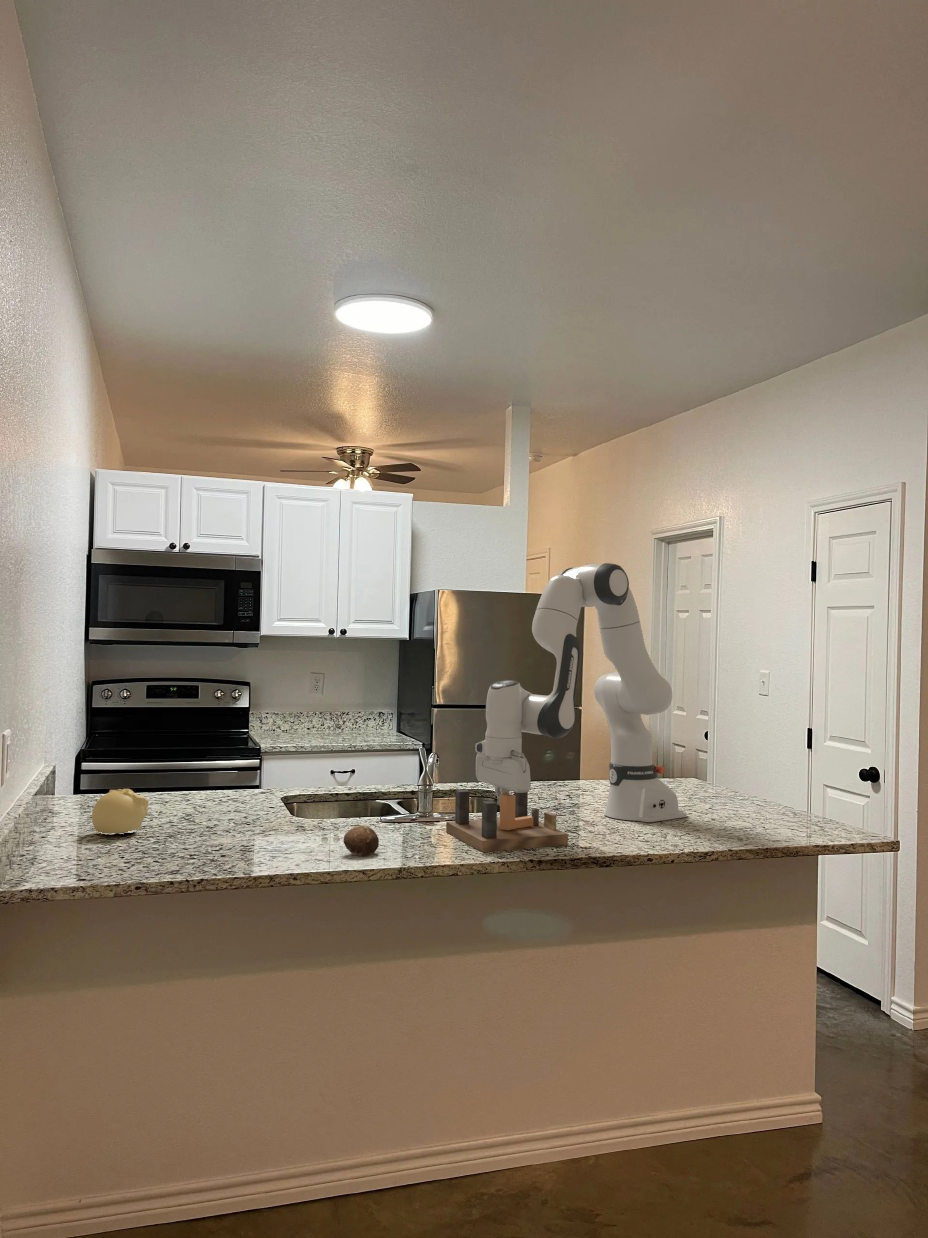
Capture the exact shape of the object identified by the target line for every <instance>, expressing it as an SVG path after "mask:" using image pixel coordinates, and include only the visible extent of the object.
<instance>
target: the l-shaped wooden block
mask: <svg viewBox="0 0 928 1238" xmlns="http://www.w3.org/2000/svg"><path fill="white" fill-rule="evenodd" d="M515 798H516V795H514V794H511V793H509V794H503V795H500V806H499V818H500V829H504V830H512V829H516V828H522V827H528V826H533V817H532V816H529V815H528V816H525V817H518V818H515Z"/></svg>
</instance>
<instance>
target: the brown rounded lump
mask: <svg viewBox="0 0 928 1238" xmlns="http://www.w3.org/2000/svg"><path fill="white" fill-rule="evenodd" d="M342 842H343V844H344V846H345V848H346V849H347V850H348V851H349V852H350V853H352V854H353V855H355V856H360V857H365V856H369V855H372V854H374V853H375V852H376V851H377V850H378V848H379V846H380V845H379V844H380V843H379V842H380V839H379V836H378V834H377V833H376V832H375V830H374V829H372V828H371V827H370V826H366V825H359V826H355V827H352V828H351V829H349V830H348V831H346V833H345V834H344V835H343V841H342Z"/></svg>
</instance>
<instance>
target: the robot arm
mask: <svg viewBox="0 0 928 1238" xmlns="http://www.w3.org/2000/svg"><path fill="white" fill-rule="evenodd" d="M629 581H630V580H629V576H628V574H627V573H626V571H625V570H624V568H623V567H622V566H621V565H619V564H616V563H610V562H606V563H590V564H589V563H588V564H585V565H580V566H577V567H568V568H566V569H563V570H562V571H560V572H559V573H558V574H557V575H555V576H553V577H551V578H550V579H549V580H548V581H547V583H546V585H545V586H544V589H543V591H542V593H541V595H540V598H539V600H538V603H537V606H536V609H535V613H534V616H533V619H532V624H531V632H532V635H533V638H534V640H535V641H536V643H537V644H538V645H539V646H541V648H543V649H544V650H546V651H547V652H549V653H551V654H553V655H554V657H555V659H556V668H555V674H554V681H553V688H552V691H551V693H550V694H548V695H546V694H545V695H543V694H542V695H541V694H536V693H532V692H530V691H528V690H526V689H524V687H522V686H521V684H520V682H519V681H516V680H500V681H496V682H494V683H492V684H491V685H490V686H489V688H488V691H487V696H486V700H485V701H486V702H485V720H486V731H485V734H484V735H485V737H484V740H482V741H479V742H477V743H475V744H474V745H475V747H474V748H475V749H474V751H475V752H476V755H475V756H476V757H475V777H476V778H477V781H478V782H481V783H484V784H488V785H491V786H493V787H494V792H495V794H496V795H495V796H496V797H497V798H496V799H497V801H496V803H497V806H499V807H500V795H503V794H511V793H510V792H513V793H514V792H516V793H525V792H528V793H529V792H530V790H531V788H532V787H531V786H532V785H531V769H530V768H531V767H530V764H529V762H528V759H527V757H526V756H525V753H524V752H522V747H523V746H522V743H523V742H522V741H523V738H522V737H523V735H522V733H529V734H534V735H543V736H545V737H549V738H553V739H561V738H563V737H565V736H566V735H568V733H569V732H570V731H572V729H573V728H574V725H575V723H576V719H577V718H576V716H577V715H576V713H577V712H576V696H577V689H578V684H579V683H578V682H579V681H578V680H579V675H580V674H579V673H580V666H581V665H580V664H581V655H582V647H581V646H582V645H581V642H580V639H579V638H578V637H577V627H578V622H579V619H580V614H581V609H582V608H590V607H591V608H592V607H594V608H595V609H596V612H597V621H598V628H599V632H600V638H601V643H602V644H601V645H602V650H603V653H604V655H605V657H606V659H607V660H608V661H609V662H611V664H612V665H613V667H615V669H616V671H614V672H609V673H604V674H602V675H601V676H600V677H599V678H597V680H596V682H595V684H594V690H593V692H594V693H593V694H594V697H595V700H596V702H597V703H598V705H600V707H601V708H602V710H603V712H604V715H605V718H606V721H607V723H608V728H609V734H610V735H609V736H610V750H611V751H610V762H609V765H608V777H609V778H608V780H609V781H608V782H609V788H608V789H609V791H608V797H607V803H606V806H605V807H606V808H605V810H604V816H606V817H609V818H612V819H616V820H623V821H636V822H643V823H654V822H660V821H667V820H675V819H681V818H687V817H688V813H687V812H686V811H685V810H683V809H680V808H679V802H678V801H679V800H678V796H677V794H676V792H675V791H674V790H673V789H672V788H670V787H669V786H668V785H666V784H665V782H663V781H662V780H661V779H659V778H658V777H659V776H658V774H661V775H663V774H664V773H665V771H666V768H665V767H664V766H661V765H657V766H656V765H654V764H653V736H652V733H650V731H649V730H648V729H647V728H646V726H645V724H644V722H643V719H642V716H641V715H644V716H645V715H647V716H650V715H656V714H661V713H663V712H665V711H666V710H668V708H669V707H670V706H671V703H672V701H673V689H672V687H671V684H670V683H669V681H668V680H666V679H665V678H664V677H663V675H661V674H660V673H659V671H658V670H657V668H656V667H655V665H654V663H653V661H652V660H651V658H650V655H649V652H648V651H647V647H646V644H645V639H644V635H643V630H642V624H641V619H640V615H639V610H638V607H637V603H636V601H635V598H634V595H633V593H632V590H631V588H630V582H629Z"/></svg>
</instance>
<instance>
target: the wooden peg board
mask: <svg viewBox="0 0 928 1238" xmlns="http://www.w3.org/2000/svg"><path fill="white" fill-rule="evenodd" d="M470 792H471V791H470V790H468V789H457V790H456V789H455V801H454V802H455V813H454V815H455V816H454V820H453V821H452V820H451V821H446V822H445V823H446V824H445V832H446V833H448V834H449V835H451V836H453V837H454V838H456V839H458V840H459V841H462V842H464V843H465V844H467V845H469V846H470V847H473V848H474V849H476V850H478V851H479V852H481V853H487V852H498V851H509V850H510V851H511V850H520V849H521V850H522V849H531V848H543V847H544V848H545V847H554V846H555V847H556V846H566V845H567V846H568V844H569V833H568V832H564V831H562V830H560V829H557V814H554V813H552V812H550V811H544V812H543V822H540V808H531V817H533V826H528V827H522V828H516V829H512V830H504V829H500V817H498V804H497V801H493V800H488V801H485V800H484V801H481V819H470ZM513 795H516V798H515V818H518V817H525V816H529V813H528V808H529V806H528V805H529V804H528V803H529V799H528V797H529V792H525V793H516V792H513Z"/></svg>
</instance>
